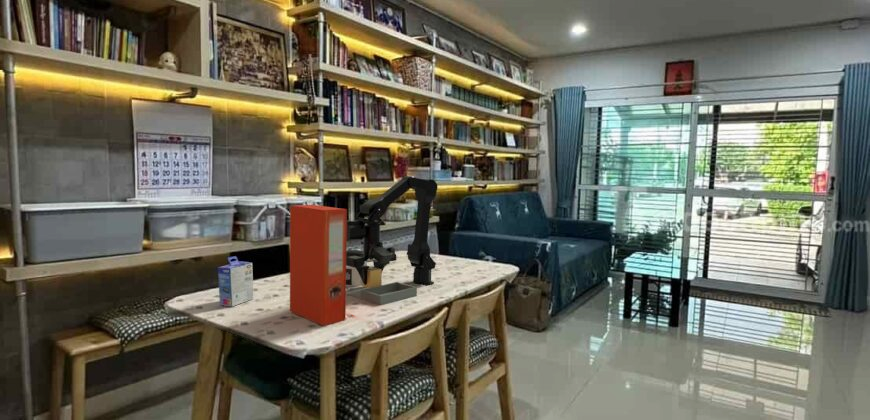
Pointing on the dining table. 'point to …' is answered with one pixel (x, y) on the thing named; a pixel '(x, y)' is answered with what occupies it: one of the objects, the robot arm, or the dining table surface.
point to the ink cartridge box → (235, 282)
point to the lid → (355, 291)
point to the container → (353, 270)
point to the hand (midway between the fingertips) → (371, 283)
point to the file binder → (318, 263)
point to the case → (388, 293)
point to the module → (373, 277)
